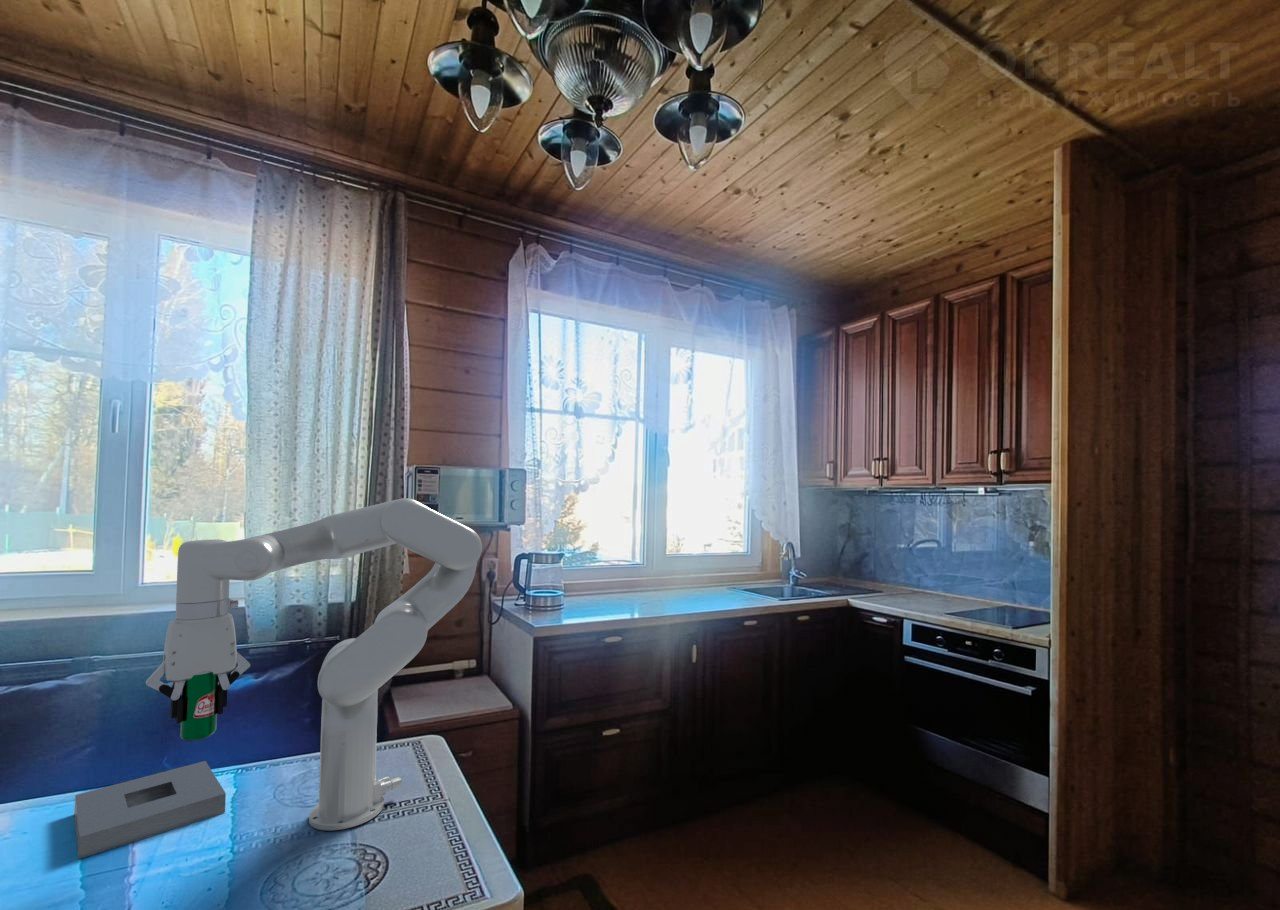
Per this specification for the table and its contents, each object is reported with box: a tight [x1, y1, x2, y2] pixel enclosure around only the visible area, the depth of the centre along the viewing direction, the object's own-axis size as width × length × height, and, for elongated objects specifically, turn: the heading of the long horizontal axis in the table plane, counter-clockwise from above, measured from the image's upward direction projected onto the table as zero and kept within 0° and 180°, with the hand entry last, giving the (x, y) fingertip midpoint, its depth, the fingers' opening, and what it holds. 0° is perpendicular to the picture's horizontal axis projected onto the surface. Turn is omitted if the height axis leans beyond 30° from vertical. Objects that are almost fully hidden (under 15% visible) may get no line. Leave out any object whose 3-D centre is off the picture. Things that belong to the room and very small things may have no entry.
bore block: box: [73, 760, 227, 860], centre depth 111 cm, size 20×20×4 cm
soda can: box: [179, 671, 218, 742], centre depth 103 cm, size 5×5×12 cm
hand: (198, 715), depth 103 cm, fingers closed on soda can, 5 cm apart
